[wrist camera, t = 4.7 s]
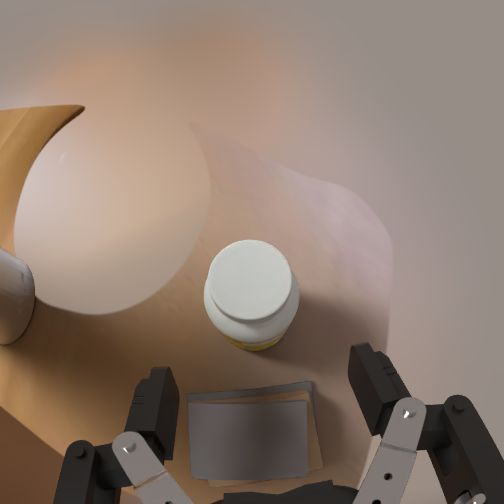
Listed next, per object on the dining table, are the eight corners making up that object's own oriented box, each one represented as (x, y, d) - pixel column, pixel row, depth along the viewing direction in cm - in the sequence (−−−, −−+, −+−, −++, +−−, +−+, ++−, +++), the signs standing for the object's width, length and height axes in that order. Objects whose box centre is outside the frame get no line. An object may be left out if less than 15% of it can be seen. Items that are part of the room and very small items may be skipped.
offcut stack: (200, 477, 18) (188, 496, 15) (188, 393, 21) (174, 397, 17) (319, 465, 19) (331, 482, 15) (309, 380, 21) (320, 382, 17)
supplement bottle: (296, 341, 23) (321, 319, 14) (226, 358, 22) (205, 348, 13) (278, 275, 25) (289, 216, 16) (211, 291, 24) (185, 240, 15)
